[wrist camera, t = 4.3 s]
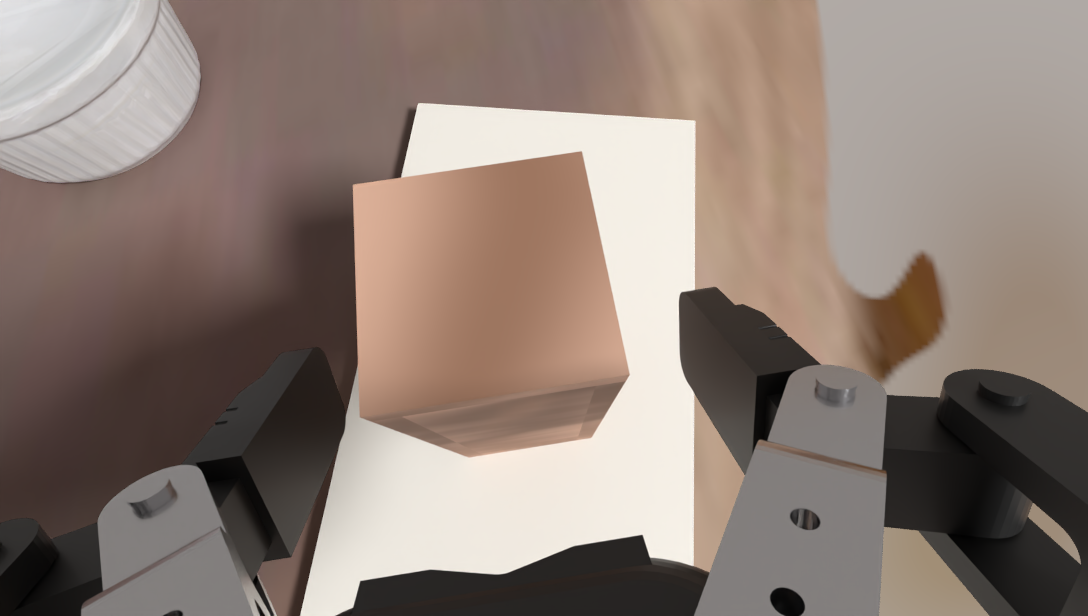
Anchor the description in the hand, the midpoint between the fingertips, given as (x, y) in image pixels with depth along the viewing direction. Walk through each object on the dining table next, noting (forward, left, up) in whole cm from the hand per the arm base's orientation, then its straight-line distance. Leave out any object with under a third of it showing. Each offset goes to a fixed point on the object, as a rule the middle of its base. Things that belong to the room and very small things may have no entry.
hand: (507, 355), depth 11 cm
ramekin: (-25, -4, -8) cm, 26 cm away
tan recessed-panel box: (-1, 0, -7) cm, 7 cm away
